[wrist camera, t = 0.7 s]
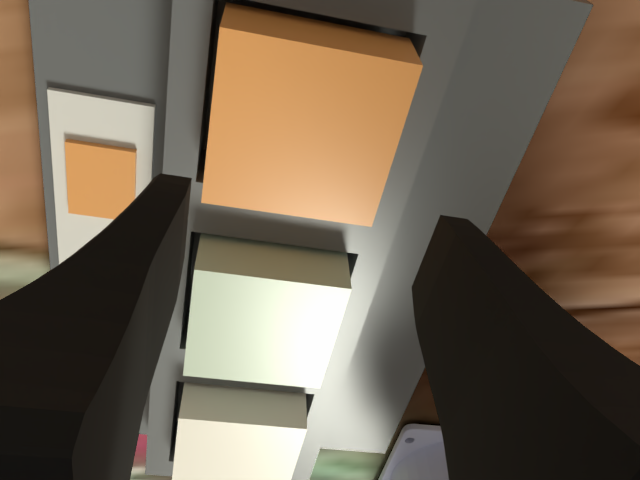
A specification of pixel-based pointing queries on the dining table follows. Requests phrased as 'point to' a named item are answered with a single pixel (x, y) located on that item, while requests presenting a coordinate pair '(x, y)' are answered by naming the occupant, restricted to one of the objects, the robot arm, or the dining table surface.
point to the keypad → (358, 241)
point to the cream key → (238, 433)
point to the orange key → (305, 115)
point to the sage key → (264, 311)
